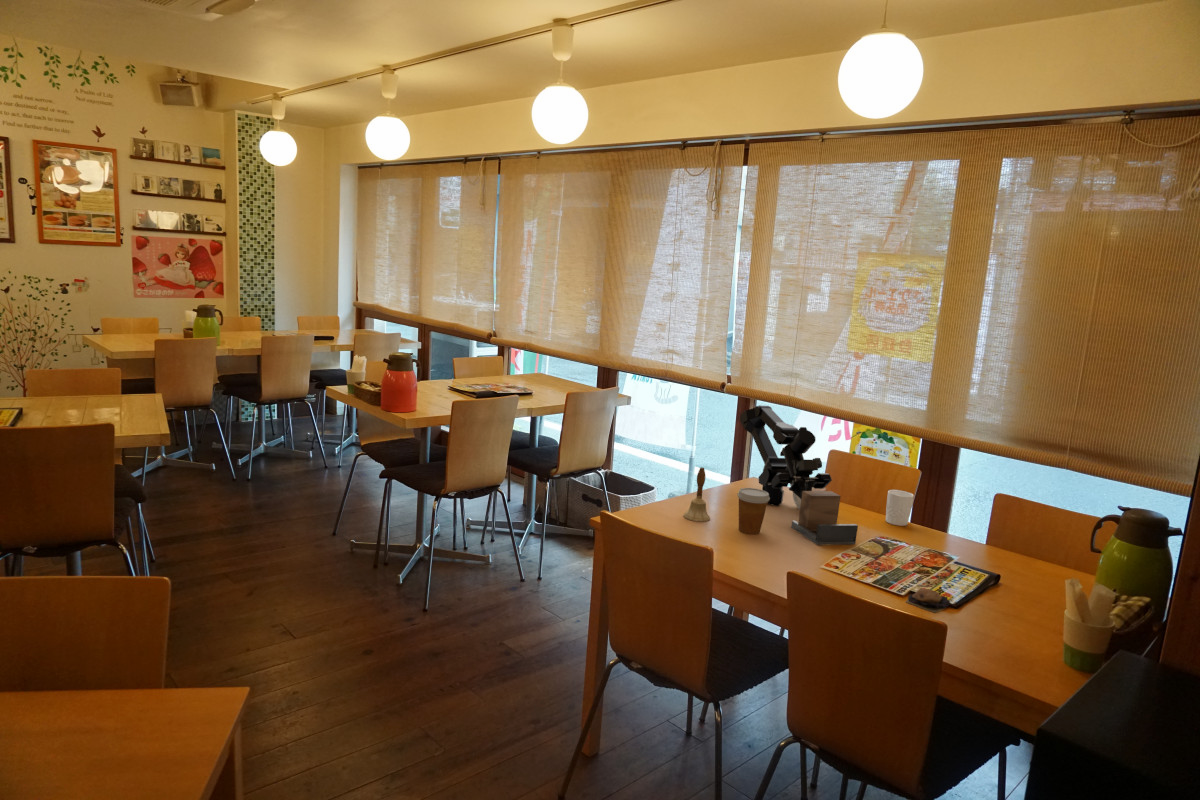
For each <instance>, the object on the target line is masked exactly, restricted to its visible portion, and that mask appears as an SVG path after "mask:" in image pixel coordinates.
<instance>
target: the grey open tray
mask: <svg viewBox="0 0 1200 800" xmlns="http://www.w3.org/2000/svg"><path fill="white" fill-rule="evenodd" d="M790 527H791V529H793V530H794V531H796V532H797V533H799V534H800V535H801V536H803V537H805V538H806V539H808V540H809V541H811V542H812V543H814V544H815V545H817V546H830V545H831V546H835V545H836V546H841V545H856V542H857V541H856V540H857V535H858V534H857V533H858V527H859V525H858V524H856V523H837V524H818V526H817V531H810V530H809V529H807V528H806V527H804V526H803V525H801V524H799V523H798V521H796V520H792V521H791V526H790Z"/></svg>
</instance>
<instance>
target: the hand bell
mask: <svg viewBox="0 0 1200 800" xmlns="http://www.w3.org/2000/svg"><path fill="white" fill-rule="evenodd" d="M705 482H706V470H705V467H699V470H698V472H697V476H696V485H697V491H696V498H693V499H691V502H690V506H689V508H687V509H688V510H687V511H686V512H684V513H683V518H684V519H686V520H689V521H693V522H696V523H699V522H700V523H704V522H709V521H710V520H711V517H710V515H709V514H708V511H707V502H706V500H704V499H703V489H704V485H705Z"/></svg>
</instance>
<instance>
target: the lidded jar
mask: <svg viewBox="0 0 1200 800" xmlns="http://www.w3.org/2000/svg"><path fill="white" fill-rule="evenodd" d="M812 491H827V488H826V487H825V488H823V489H815V488H813V487H812ZM792 499H793V502H794V504H795V506H796V507H797V509H798V510H800V506H801V499H800V498H799V497H798V496H797V495H796V494H795V493H794V492H792Z"/></svg>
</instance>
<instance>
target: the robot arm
mask: <svg viewBox="0 0 1200 800" xmlns="http://www.w3.org/2000/svg"><path fill="white" fill-rule="evenodd" d="M739 422H740V424H741V426H742V427H743V430H745V431H746V432H747V433H749V434H751V436H752V438H753V441H754V443H755V445H756V447H757V450H758V451H759V454H760V456H761V458H762V461H763V463H764V466H763V468H762V473H760V474H759V476H758V484H759V485H762V489H761V490H763V491H766V492H768V494H769V497H770V500H769V502H768V503H767V505H770V506H775V507H779V506H780V505H781V504H782V503H783V502H784V494H785V491H784V490H783V488H785V487H786V488H787V487H788V486H790V487H789V488H788V490H789V491H790V492H792V493H793V492H794V493H795V494H796V495H797V496H798V497H799V498H800V499H802V491H812V487H813V488H815V489H823V488H826V487H827V486H828V485H829V484H830V483H831V482H832V479H833V478H832V476H831V474H830V473H827V472H824V473H823V472H819V473H817V474H816V475H815V476H812V475H813V474H814V471H818V470H819V469H821V468H822V467H823V461H822V460H821V458H820V457H815V458H812V459H805V458H804V455H803V454H806V453H807V452H808V451H809V449H810V448H811V447H812V446H813V445H814V444H815V443H816V441H817V440H816V436H815V434H813V432H812V431H810V430H808V428H807V427H805V426H801V427H799V428H797V427H795V426H794V425H793V424H788V423H786V422H785V421H784V420H783V419H782V418H780V416H779V415H778V414H777V413H776V412H775V411H774V410H773V408H772V407H771V406H769V405H762V404H760V405H757V406H754V407H753V408H749V409H747V410H743V412H742V413H741V414H740V415H739ZM765 426H767V427H768V428H769V429H770V430H771V431H772V433H773V434H772V438H773V439H774V441H775V442H776V444H777V445H785V446H784V447H782V449H781V451H780V452H779V453H780V454H779V455H780V457H778V455H777V453H776V450H775V447H774V446H773V443H772V441H771V439H770V437H769V436H768V432H767V431H766V429H765Z"/></svg>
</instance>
